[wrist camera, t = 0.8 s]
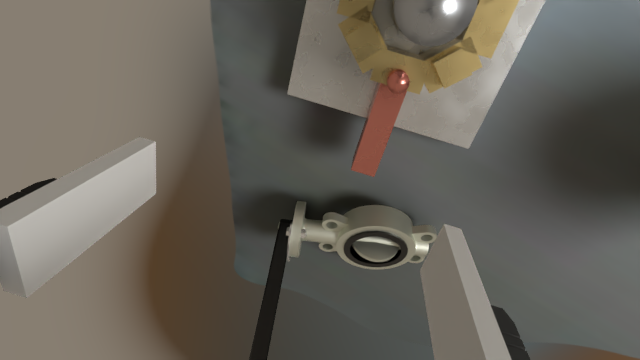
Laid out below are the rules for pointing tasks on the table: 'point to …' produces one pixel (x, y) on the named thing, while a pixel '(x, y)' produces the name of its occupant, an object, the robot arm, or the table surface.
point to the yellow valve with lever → (412, 66)
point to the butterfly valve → (341, 250)
